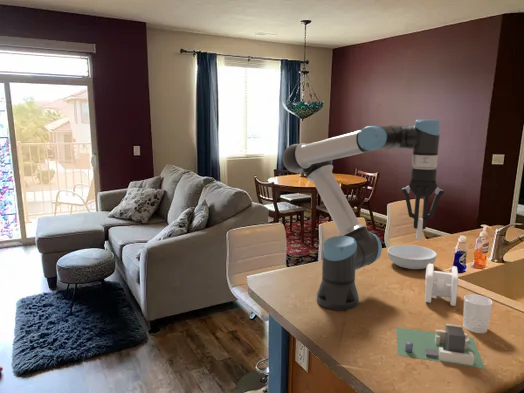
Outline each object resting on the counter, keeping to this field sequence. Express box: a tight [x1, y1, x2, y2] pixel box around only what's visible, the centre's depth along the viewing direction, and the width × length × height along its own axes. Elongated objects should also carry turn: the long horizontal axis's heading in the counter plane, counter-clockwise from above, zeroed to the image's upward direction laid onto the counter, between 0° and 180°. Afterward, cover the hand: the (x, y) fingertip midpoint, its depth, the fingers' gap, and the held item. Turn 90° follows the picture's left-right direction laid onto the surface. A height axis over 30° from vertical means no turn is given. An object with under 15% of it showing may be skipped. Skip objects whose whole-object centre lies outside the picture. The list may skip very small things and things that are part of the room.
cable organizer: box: [424, 263, 459, 307], centre depth 146 cm, size 15×11×12 cm
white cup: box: [462, 293, 493, 334], centre depth 125 cm, size 8×8×10 cm
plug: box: [444, 323, 466, 354], centre depth 111 cm, size 4×6×7 cm, turn 163°
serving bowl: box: [387, 244, 437, 270], centre depth 180 cm, size 21×21×7 cm
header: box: [434, 329, 474, 365], centre depth 112 cm, size 8×11×4 cm
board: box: [395, 326, 486, 370], centre depth 115 cm, size 22×16×3 cm
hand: (418, 238), depth 132 cm, fingers closed
